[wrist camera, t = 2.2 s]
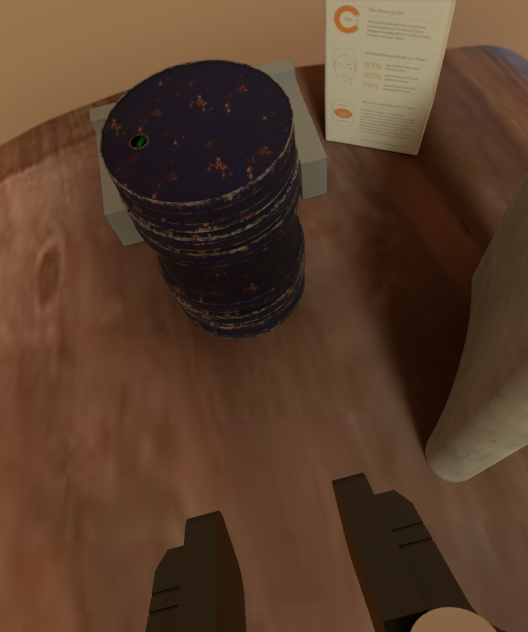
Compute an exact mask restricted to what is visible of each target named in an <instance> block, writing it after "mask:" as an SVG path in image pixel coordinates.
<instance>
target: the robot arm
mask: <svg viewBox="0 0 528 632" xmlns="http://www.w3.org/2000/svg"><path fill="white" fill-rule="evenodd" d="M332 484H333V489H334V493H335V497H336V501H337V506H338V510H339V514H340V518H341V522H342V526H343V530H344V535H345V539H346V542H347V546H348V549H349V553H350V556H351V560H352V563H353V566H354V569H355V572H356V575H357V578H358V581H359V584H360V587H361V590H362V593H363V596H364V599H365V602H366V605H367V608H368V611H369V614H370V617H371V620H372V623H373V626H374V629H375V632H505V631H503V630H501V629H499V628H497V627H495V626H493V625H491V624H490V623H488V622H487V621H486V620H484V619H483V618H482V617H481V616H479V615H478V614H477V613H476V611H475V610H474V609H473V608H472V607H471V605H470V604H469V602H468V600H467V599H466V597H465V595H464V593H463V592H462V590H461V588H460V586H459V585H458V583H457V581H456V579H455V578H454V576H453V574H452V572H451V571H450V569H449V567H448V565H447V563H446V562H445V560H444V558H443V556H442V555H441V553H440V551H439V549H438V548H437V546H436V544H435V542H434V541H433V540H432V537H431V535H430V534H429V532H428V530H427V528H426V527H425V525H424V524H423V521H422V519H421V518H420V516H419V514H418V512H417V511H416V509H415V507H414V505H413V504H412V503H411V502H410V501H409V500H407V499H406V498H405V497H403V496H402V495H400V494H399V493H398V492H396V491H395V490H391V491H388V492H384V493H380V494H376V495H374V493H373V491H372V489H371V487H370V485H369V483H368V480H367V478H366V476H365V474H364V473H360V474H356V475H352V476H349V477H345V478H341V479H337V480H334V481H332ZM146 632H246V618H245V601H244V589H243V582H242V576H241V572H240V568H239V564H238V561H237V558H236V555H235V552H234V549H233V546H232V543H231V540H230V537H229V534H228V531H227V528H226V525H225V522H224V519H223V516H222V514H221V512H220V511H216V512H212V513H208V514H205V515H201V516H197V517H193V518H190V519H187V521H186V528H185V538H184V546H180V547H176V548H173V549H169V550H167V552H166V553H165V555H164V557H163V559H162V560H161V562H160V564H159V566H158V567H157V569H156V571H155V576H154V583H153V589H152V598H151V602H150V608H149V617H148V621H147V627H146Z"/></svg>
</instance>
